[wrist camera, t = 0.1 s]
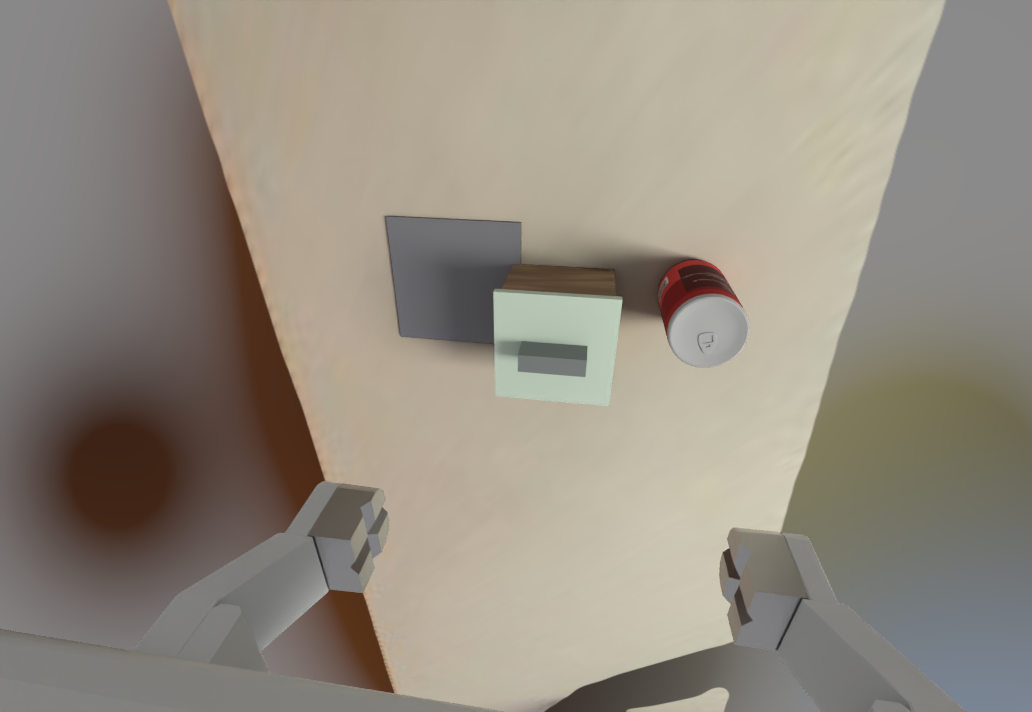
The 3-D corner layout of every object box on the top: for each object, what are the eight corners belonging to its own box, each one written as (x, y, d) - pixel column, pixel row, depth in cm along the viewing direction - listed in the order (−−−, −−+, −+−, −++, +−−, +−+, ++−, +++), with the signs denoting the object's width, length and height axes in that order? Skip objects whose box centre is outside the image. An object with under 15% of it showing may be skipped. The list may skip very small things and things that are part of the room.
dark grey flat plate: (386, 215, 58) (385, 216, 58) (521, 222, 57) (520, 222, 56) (401, 335, 67) (400, 336, 66) (519, 344, 65) (519, 345, 64)
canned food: (670, 330, 61) (684, 379, 51) (645, 274, 58) (655, 315, 48) (734, 305, 58) (761, 352, 49) (712, 245, 55) (735, 283, 46)
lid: (497, 283, 53) (487, 303, 48) (621, 291, 51) (623, 312, 47) (498, 385, 59) (490, 411, 55) (608, 395, 58) (609, 422, 53)
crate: (512, 263, 59) (499, 293, 52) (614, 269, 58) (616, 301, 50) (512, 350, 65) (500, 388, 58) (604, 357, 64) (604, 398, 56)
